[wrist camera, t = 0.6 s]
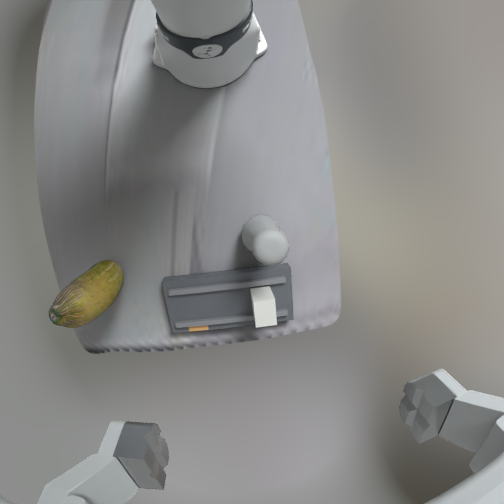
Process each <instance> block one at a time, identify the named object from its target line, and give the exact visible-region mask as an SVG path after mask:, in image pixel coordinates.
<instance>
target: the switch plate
mask: <svg viewBox="0 0 504 504" xmlns="http://www.w3.org/2000/svg"><path fill="white" fill-rule="evenodd" d="M162 286H163V291H164V296H165V301H166V305H167V310H168V314H169V319H170V323H171V327H172V332H173V333H181V332H193V331H204V330H214V329H224V328H233V327H242V326H250V325H255V320H254V316H253V310H252V301H251V292H250V288H258V287H266V286H270V288H271V291H272V293H273V295H274V298H275V305H276V317H277V322H280V321H287V320H293V300H292V283H291V268H290V266H289V265H288V263H285V264H277V265H268V266H260V267H252V268H243V269H235V270H226V271H218V272H209V273H200V274H191V275H182V276H173V277H165V278H164V279H163V281H162Z"/></svg>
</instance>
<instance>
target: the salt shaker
mask: <svg viewBox="0 0 504 504" xmlns="http://www.w3.org/2000/svg"><path fill="white" fill-rule="evenodd" d="M242 240H243V243H244V245H245V246H246V247H247V249H248V250H250V251H252V252H253V255H254V256H255V257H256V259H257V260H258V261H259V262H261V263H263V264H265V265H276V264H279V263H281V262H282V261H283V260H284V259H285V258H286V257H287V254H288V251H289V244H288V239H287V238H286V236H285V235H284V233H282V232H280V227H279V226H278V224H277V223H276V221H275V220H274V219H272V218H270V217H268V216H264V215H257V216H255V217H253V218H250V219H249V220H248V221H247V222H246V223H245V225H244V226H243V230H242Z"/></svg>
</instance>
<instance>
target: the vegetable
mask: <svg viewBox="0 0 504 504" xmlns="http://www.w3.org/2000/svg"><path fill="white" fill-rule="evenodd" d="M123 277H124V275H123V270H122V268H121V267H120V266H119V264H117V263H116V262H114V261H112V260H105V261H101V262H99V263H97V264H95V265H94V266H93V267H92V268H90V269H89V270H88V271H86V272H85V273H84V274H82V275H81V276H79V277H78V278H77V279H75V280H74V281H73V282H72V283H70V284H69V285H68V286H66V287H65V288H64V289H63V290H62V291H61V292H60V293H59V294H58V296H57V297H56V299H55V301H54V303H53V305H52V306H51V308H50V310H49V317H50V320H51V321H52V322H53V323H54V324H56V325H59V326H64V327H68V328H77V327H80V326H82V325H85V324H87V323H89V322H90V321H92V320H93V319H95V318H97V317H98V316H100V315H101V314H102V313H103V312H104V311H105V310H106V309H107V308H108V307H109V306H110V305H111V304H112V303H113V302H114V300H115V299H116V297H117V296H118V294H119V292H120V289H121V286H122V284H123Z"/></svg>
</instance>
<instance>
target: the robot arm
mask: <svg viewBox="0 0 504 504" xmlns="http://www.w3.org/2000/svg"><path fill="white" fill-rule="evenodd" d="M151 1H152V3H153V5H154V7H155V9H156V11H157V12H156V18H157V25H156V26H155V33H157V37H155V38H154V41H155V48H154V53H153V57H152V60H153V63H154V64H155V65H157V66H159V67H161V68H164V69H167V70H168V71H169V72H170V73H171V74H172V75H173V76H174V77H175V78H176V79H178V80H179V81H181V82H183V83H184V84H187V85H190V86H193V87H198V88H213V87H219V86H222V85H226V84H228V83H230V82H232V81H234V80H236V79H237V78H239V77H240V76H241V75H242V74H243V73H244V72H245V71H246V70H247V69H248V68H249V66H250V65H251V63H252V62H253V60H254V59H256V58H257V57H259V56H261V55H262V54H264V53H265V52H266V51H267V43H266V40H265V38H264V36H263V33H262V31H261V29H260V26H259V24H258V22H257V19H256V17H255V15H254V13H253V2H252V0H151ZM259 41H260V42H259ZM403 391H404V393H405V394H406V395H405V396H404V397H403V398H402V400H401V402H400V406H399V410H400V416H401V418H402V420H403V422H404V423H405V424H407V425H409V426H411V433H412V434H413V436H414V437H415V439H416V440H417V442H418V443H422V442H423V441H426V440H428V439H430V438H432V437H435V436H437V435H438V436H440V437H441V438H443V439H445V440H448V441H450V442H452V443H454V444H456V445H458V446H460V447H463V448H465V449H467V450H469V451H472V452H474V453H476V455H475V457H474V458H473V459H472V461H471V462H470V465H469V466H470V468H471V469H472V470H473V472H474V474H473V475H472V476H470V477H469V478H467V479H466V480H464V481H463V482H461V483H459V484H458V485H456V486H455V487H453V488H451V489H450V490H448V491H446V492H445V493H443V494H441V495H439V496H438V497H436V498H434V499H432V500H430V501H428V502H426V503H425V504H504V398H502V397H497V396H492V395H489V394H484V393H480V392H476V391H472V390H470V391H467V390H466V389H464V388H463V387H462V386H461V385H460V384H459V383H458V382H457V381H456V380H455V379H454V378H453V377H451V375H449V374H448V373H447V372H446V371H445V370H443V369H439V370H437V371H434V372H432V373H430V374H427V375H425V376H422V377H420V378H417V379H415V380H412V381H409V382H407V384H406V385H405V387H404V390H403ZM160 432H161V431H160V428H159V426H158V424H155V423H141V422H129V421H117V420H113V421H112V422H111V423H110V425H109V427H108V429H107V432H106V434H105V437H104V439H103V441H102V444H101V446H100V449H99V451H98V454H92V455H91V456H90V457H88V458H87V459H85V460H84V461H82V462H81V463H79V464H78V465H76V466H75V467H73V468H72V469H70V470H69V471H67V472H65V473H64V474H62V475H61V476H59V477H57V478H56V479H54V480H53V481H51V482H50V483H48V484H46V486H45V488H44V490H43V492H42V494H41V497H40V499H39V501H38V503H37V504H126V503H127V502H128V501H129V500H130V499H131V498H132V496H134V494H135V493H136V492H137V491H138V490H139V488H145V489H159V490H163V489H164V485H165V479H166V473H165V472H164V470H163V468H164V467H165V466H166V465H168V460H169V454H168V453H169V452H168V447H167V443H166V441H165V439H164V438H162V437H161V436H160ZM0 504H16V503H14V502H12V501H10V500H8V499H6V498H5V497H3V496H1V495H0Z"/></svg>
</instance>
